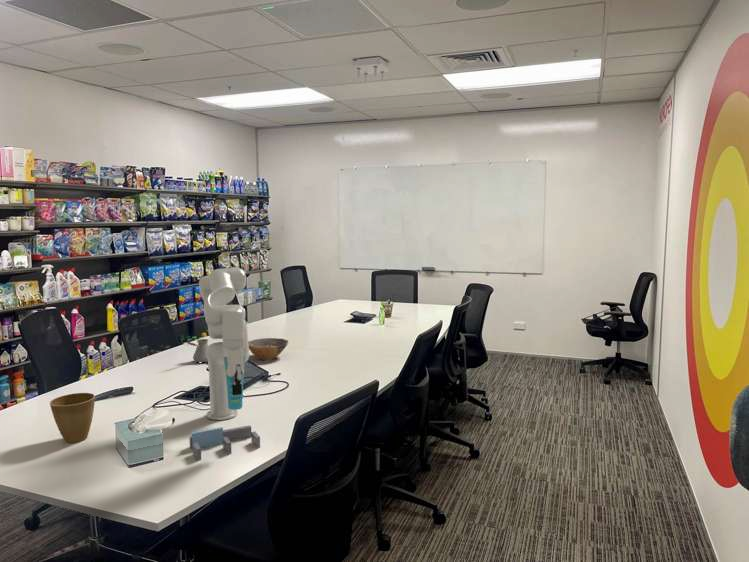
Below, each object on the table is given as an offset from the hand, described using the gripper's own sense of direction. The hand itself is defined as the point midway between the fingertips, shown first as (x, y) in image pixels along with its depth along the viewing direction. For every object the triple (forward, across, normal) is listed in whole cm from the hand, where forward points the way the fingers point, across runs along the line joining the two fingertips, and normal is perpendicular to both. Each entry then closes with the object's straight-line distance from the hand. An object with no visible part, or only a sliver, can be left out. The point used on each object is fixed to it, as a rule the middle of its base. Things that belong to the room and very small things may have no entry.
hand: (235, 392), depth 196 cm
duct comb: (+21, -3, -3) cm, 22 cm away
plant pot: (+22, -39, -51) cm, 67 cm away
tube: (+6, 0, 0) cm, 6 cm away
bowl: (+22, -120, +52) cm, 133 cm away
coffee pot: (+22, -128, +14) cm, 130 cm away
